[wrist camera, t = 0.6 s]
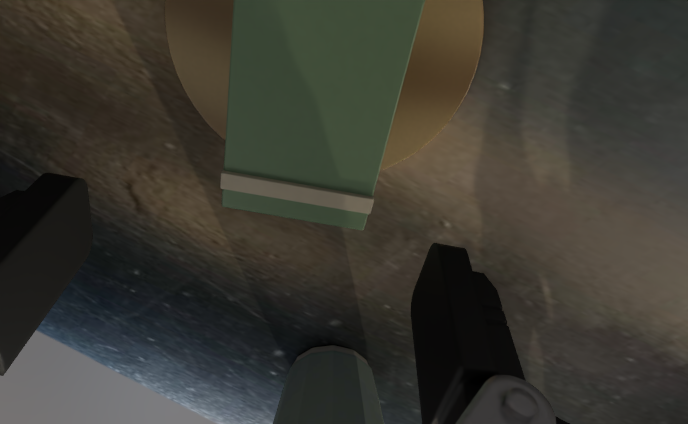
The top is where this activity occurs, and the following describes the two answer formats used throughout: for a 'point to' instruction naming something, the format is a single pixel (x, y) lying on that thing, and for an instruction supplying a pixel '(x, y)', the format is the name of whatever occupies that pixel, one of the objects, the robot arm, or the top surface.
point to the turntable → (418, 87)
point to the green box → (313, 104)
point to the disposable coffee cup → (329, 389)
